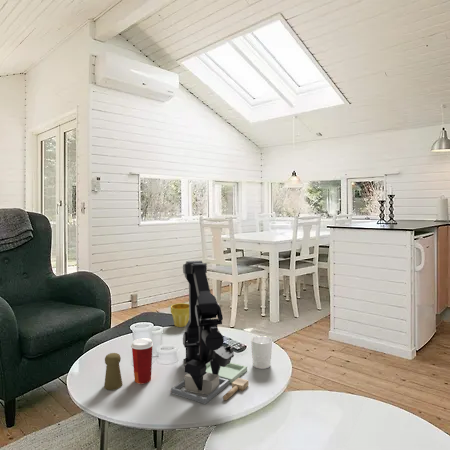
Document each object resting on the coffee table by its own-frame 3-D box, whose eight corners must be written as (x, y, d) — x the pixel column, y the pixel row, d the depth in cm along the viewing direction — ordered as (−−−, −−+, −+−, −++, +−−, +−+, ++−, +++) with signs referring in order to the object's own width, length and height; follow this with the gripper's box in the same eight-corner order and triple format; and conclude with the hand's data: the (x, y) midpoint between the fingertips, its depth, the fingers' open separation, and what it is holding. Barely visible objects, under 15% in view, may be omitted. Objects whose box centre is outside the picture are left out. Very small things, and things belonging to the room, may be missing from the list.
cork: (106, 391, 127) (105, 359, 127) (102, 383, 133) (101, 352, 132) (124, 387, 130) (123, 355, 129) (120, 379, 136) (119, 349, 135)
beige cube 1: (198, 393, 126) (198, 378, 126) (206, 386, 131) (206, 372, 130) (211, 396, 124) (211, 381, 124) (219, 389, 129) (219, 375, 128)
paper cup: (157, 377, 138) (157, 338, 137) (146, 387, 130) (146, 346, 129) (138, 373, 140) (138, 336, 139) (127, 383, 133) (126, 344, 132)
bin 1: (170, 392, 126) (170, 388, 126) (196, 375, 139) (196, 371, 139) (205, 404, 119) (205, 399, 119) (228, 384, 132) (228, 380, 132)
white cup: (271, 370, 142) (271, 344, 142) (250, 368, 144) (249, 342, 143) (272, 361, 150) (272, 336, 149) (252, 360, 152) (252, 335, 151)
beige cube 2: (185, 390, 128) (184, 375, 128) (193, 383, 133) (192, 369, 132) (197, 393, 126) (197, 378, 126) (205, 387, 130) (205, 372, 130)
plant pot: (191, 328, 189) (190, 308, 188) (169, 328, 188) (169, 309, 188) (192, 321, 199) (191, 302, 199) (171, 321, 199) (171, 303, 198)
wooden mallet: (229, 403, 120) (229, 397, 120) (218, 399, 122) (218, 394, 122) (248, 385, 131) (248, 380, 131) (238, 382, 133) (238, 377, 133)
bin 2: (196, 373, 140) (196, 369, 140) (213, 361, 150) (213, 358, 150) (231, 383, 133) (231, 379, 132) (247, 370, 142) (247, 366, 142)
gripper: (213, 353, 114) (213, 404, 115) (242, 334, 130) (242, 378, 131) (182, 346, 120) (183, 394, 121) (214, 328, 136) (215, 371, 137)
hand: (208, 384), depth 128 cm, fingers open, 9 cm apart
